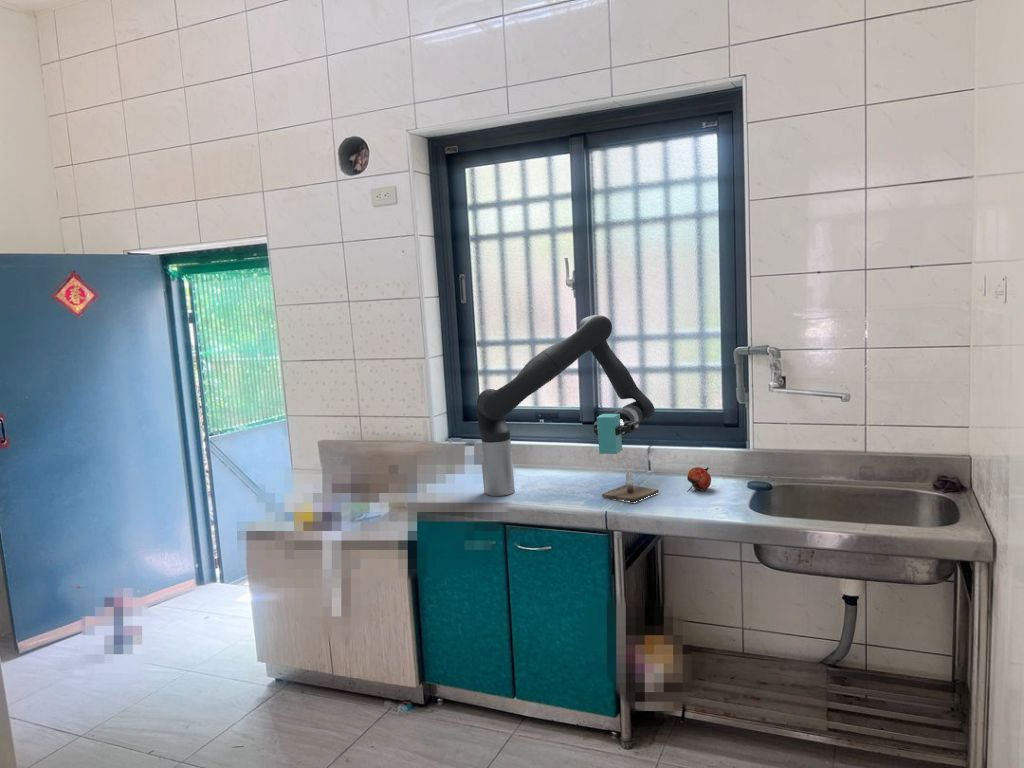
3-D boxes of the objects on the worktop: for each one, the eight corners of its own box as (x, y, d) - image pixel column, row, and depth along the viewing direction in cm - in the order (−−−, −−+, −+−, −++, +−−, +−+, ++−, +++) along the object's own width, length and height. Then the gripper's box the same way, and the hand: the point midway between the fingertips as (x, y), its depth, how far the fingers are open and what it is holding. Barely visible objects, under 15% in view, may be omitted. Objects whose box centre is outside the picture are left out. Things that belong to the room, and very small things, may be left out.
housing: (599, 453, 216) (596, 417, 215) (605, 449, 221) (602, 413, 220) (616, 454, 214) (614, 417, 212) (622, 449, 219) (619, 413, 217)
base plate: (602, 497, 218) (601, 493, 218) (626, 488, 226) (626, 484, 226) (634, 503, 209) (634, 499, 209) (658, 493, 217) (658, 489, 217)
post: (625, 492, 218) (624, 472, 217) (629, 490, 219) (628, 471, 218) (630, 493, 216) (629, 473, 215) (634, 491, 217) (633, 471, 217)
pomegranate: (699, 502, 213) (722, 478, 214) (683, 484, 213) (706, 460, 214) (689, 498, 221) (712, 475, 222) (673, 480, 220) (696, 458, 221)
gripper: (601, 409, 232) (582, 419, 217) (645, 408, 226) (629, 419, 211) (602, 432, 233) (584, 444, 218) (646, 432, 227) (631, 444, 211)
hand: (606, 432), depth 214 cm, fingers closed on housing, 5 cm apart
